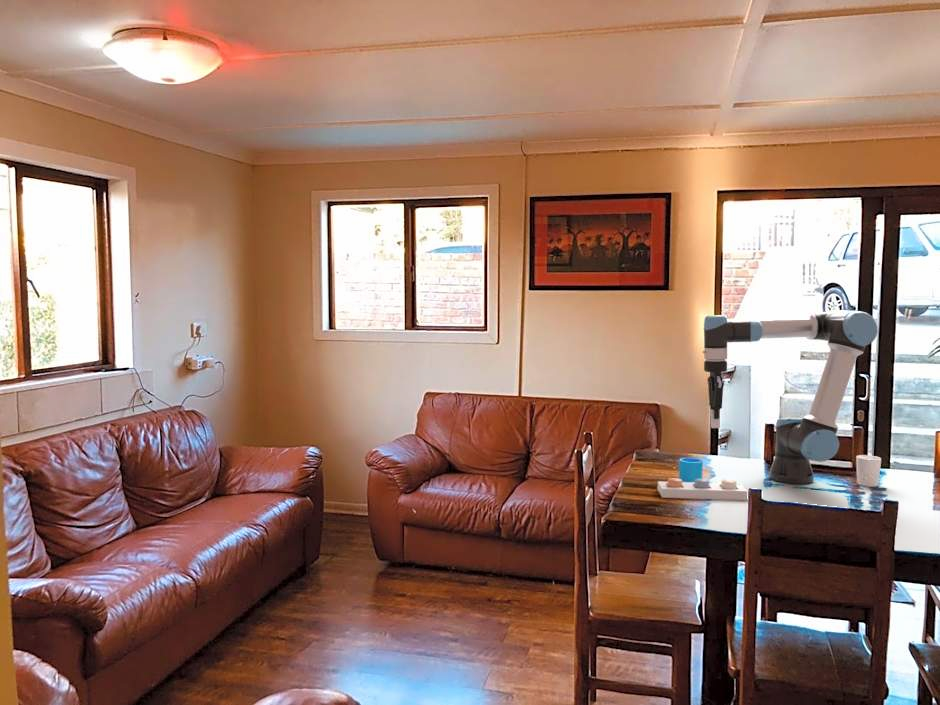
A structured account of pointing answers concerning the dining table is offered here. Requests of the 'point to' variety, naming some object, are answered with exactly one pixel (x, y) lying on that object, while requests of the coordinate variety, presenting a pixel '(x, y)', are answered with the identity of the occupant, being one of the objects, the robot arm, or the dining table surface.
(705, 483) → the button slate
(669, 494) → the button panel
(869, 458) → the white cup
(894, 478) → the dining table surface
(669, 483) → the button terracotta
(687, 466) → the mug
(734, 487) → the button cream
